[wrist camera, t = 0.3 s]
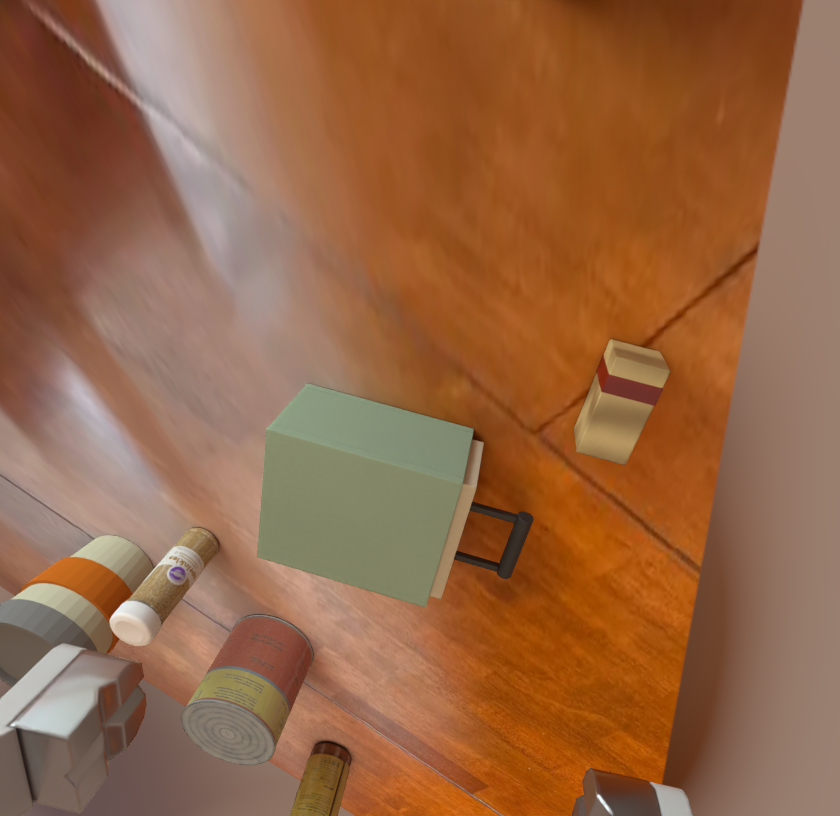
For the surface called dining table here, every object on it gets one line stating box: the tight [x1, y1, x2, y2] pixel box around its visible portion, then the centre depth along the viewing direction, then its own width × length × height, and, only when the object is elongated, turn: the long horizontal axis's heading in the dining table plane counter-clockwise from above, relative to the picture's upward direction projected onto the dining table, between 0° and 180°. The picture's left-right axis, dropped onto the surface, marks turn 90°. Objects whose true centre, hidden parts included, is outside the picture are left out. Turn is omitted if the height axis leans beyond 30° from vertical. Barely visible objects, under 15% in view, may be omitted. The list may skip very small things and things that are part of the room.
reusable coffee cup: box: [0, 535, 153, 687], centre depth 63 cm, size 13×13×15 cm
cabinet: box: [257, 383, 474, 607], centre depth 51 cm, size 17×15×9 cm
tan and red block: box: [574, 339, 670, 465], centre depth 45 cm, size 9×4×4 cm, turn 168°
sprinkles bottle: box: [110, 528, 219, 646], centre depth 59 cm, size 5×5×13 cm
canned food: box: [181, 615, 313, 765], centre depth 66 cm, size 11×11×12 cm
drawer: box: [429, 439, 533, 599], centre depth 51 cm, size 21×13×7 cm, turn 78°
